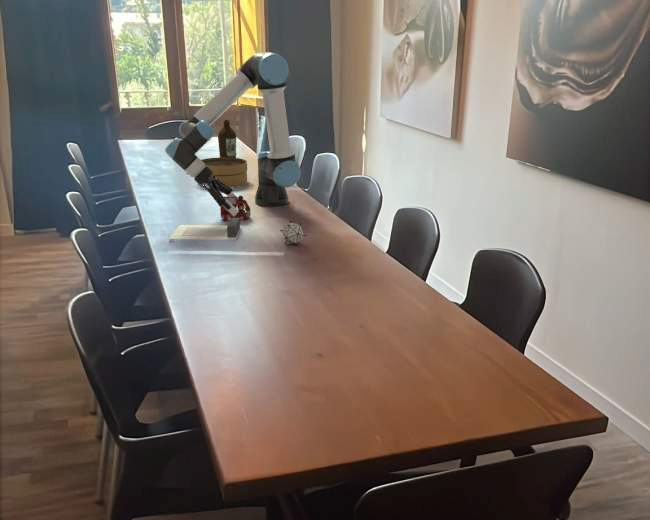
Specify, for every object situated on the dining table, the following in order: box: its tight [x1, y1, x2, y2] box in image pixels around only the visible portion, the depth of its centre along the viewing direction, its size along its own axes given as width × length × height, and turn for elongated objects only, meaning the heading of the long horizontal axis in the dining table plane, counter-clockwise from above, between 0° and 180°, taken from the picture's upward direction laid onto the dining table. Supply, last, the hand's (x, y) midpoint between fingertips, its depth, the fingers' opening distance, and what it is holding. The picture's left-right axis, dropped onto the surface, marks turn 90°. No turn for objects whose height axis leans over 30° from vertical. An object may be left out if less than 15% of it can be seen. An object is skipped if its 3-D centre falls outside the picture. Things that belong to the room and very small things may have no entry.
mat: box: [168, 224, 242, 243], centre depth 234 cm, size 24×18×1 cm
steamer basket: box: [200, 157, 248, 188], centre depth 315 cm, size 25×25×11 cm
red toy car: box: [219, 195, 252, 222], centre depth 250 cm, size 7×12×10 cm, turn 101°
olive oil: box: [217, 118, 237, 158], centre depth 364 cm, size 11×11×25 cm
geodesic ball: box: [279, 220, 307, 247], centre depth 224 cm, size 9×8×10 cm
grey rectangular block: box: [227, 218, 241, 238], centre depth 233 cm, size 3×12×4 cm, turn 179°
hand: (238, 209), depth 250 cm, fingers open, 13 cm apart
